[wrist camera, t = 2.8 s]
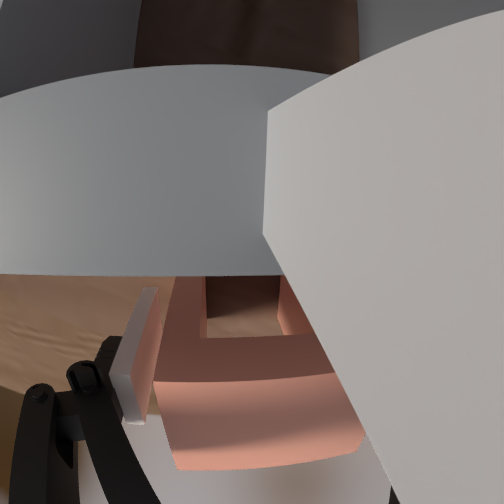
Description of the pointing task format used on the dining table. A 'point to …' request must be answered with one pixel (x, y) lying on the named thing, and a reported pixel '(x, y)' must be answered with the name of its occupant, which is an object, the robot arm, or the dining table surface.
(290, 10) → the dining table surface
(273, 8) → the dining table surface
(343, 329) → the gray square frame
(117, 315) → the dining table surface
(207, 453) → the coral u-channel block
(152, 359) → the robot arm
